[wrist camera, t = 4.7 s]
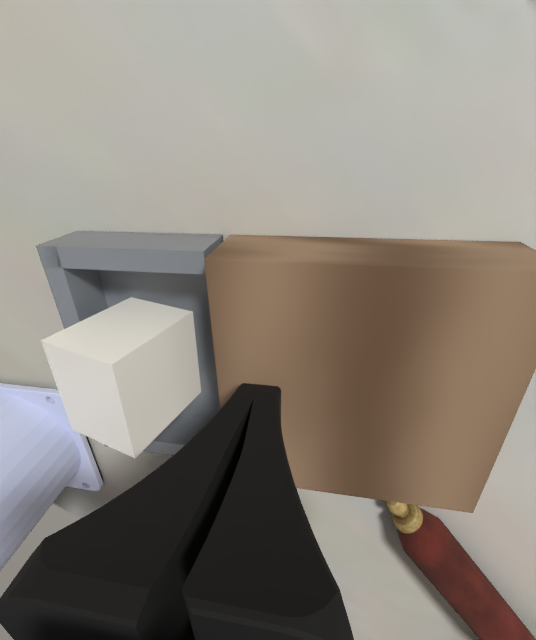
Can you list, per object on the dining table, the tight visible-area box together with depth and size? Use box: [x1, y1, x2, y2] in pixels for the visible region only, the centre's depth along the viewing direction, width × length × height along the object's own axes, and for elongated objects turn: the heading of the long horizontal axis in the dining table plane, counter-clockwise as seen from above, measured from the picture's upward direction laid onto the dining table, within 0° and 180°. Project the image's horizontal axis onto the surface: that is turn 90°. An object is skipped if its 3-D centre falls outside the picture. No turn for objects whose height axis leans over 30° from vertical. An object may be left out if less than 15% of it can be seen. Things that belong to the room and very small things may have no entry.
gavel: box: [386, 501, 536, 640], centre depth 20 cm, size 21×5×10 cm
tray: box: [36, 231, 223, 455], centre depth 15 cm, size 6×10×2 cm, turn 0°
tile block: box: [41, 297, 201, 458], centre depth 13 cm, size 4×4×3 cm
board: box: [204, 235, 536, 513], centre depth 13 cm, size 10×10×3 cm
